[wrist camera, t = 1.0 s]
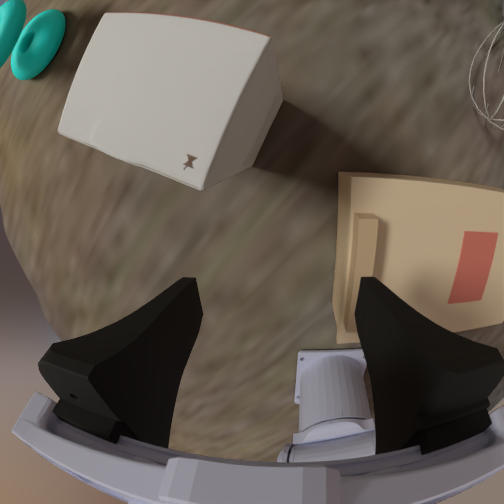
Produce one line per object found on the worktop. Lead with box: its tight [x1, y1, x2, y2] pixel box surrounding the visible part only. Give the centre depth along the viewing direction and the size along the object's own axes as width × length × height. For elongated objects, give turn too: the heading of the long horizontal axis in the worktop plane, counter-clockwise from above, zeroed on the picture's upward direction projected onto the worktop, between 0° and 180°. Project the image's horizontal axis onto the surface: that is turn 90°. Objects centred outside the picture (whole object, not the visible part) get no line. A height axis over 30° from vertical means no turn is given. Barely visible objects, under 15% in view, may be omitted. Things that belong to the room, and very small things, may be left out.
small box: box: [58, 12, 283, 191], centre depth 14 cm, size 8×6×13 cm
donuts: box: [0, 0, 66, 80], centre depth 13 cm, size 10×10×10 cm
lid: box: [336, 176, 504, 343], centre depth 15 cm, size 12×18×2 cm
